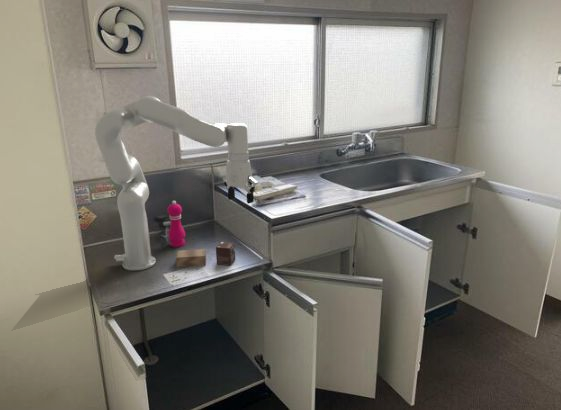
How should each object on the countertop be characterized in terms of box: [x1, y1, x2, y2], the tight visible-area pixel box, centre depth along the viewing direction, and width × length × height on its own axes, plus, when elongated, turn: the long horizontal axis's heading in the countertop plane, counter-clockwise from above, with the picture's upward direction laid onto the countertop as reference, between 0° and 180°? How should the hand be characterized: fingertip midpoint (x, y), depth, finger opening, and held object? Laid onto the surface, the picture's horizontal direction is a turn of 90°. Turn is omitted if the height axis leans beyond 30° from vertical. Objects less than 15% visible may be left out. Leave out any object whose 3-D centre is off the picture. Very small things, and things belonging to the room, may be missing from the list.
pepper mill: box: [167, 200, 186, 248], centre depth 192 cm, size 7×7×20 cm
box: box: [215, 241, 236, 266], centre depth 175 cm, size 6×6×7 cm
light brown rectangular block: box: [175, 248, 207, 268], centre depth 176 cm, size 11×7×4 cm, turn 97°
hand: (240, 200), depth 171 cm, fingers open, 9 cm apart
